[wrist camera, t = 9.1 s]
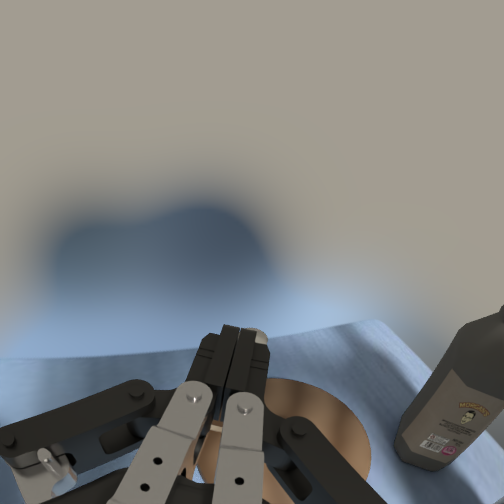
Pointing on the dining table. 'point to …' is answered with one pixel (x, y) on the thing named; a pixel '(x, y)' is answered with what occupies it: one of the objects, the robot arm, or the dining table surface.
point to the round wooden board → (313, 408)
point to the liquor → (456, 397)
